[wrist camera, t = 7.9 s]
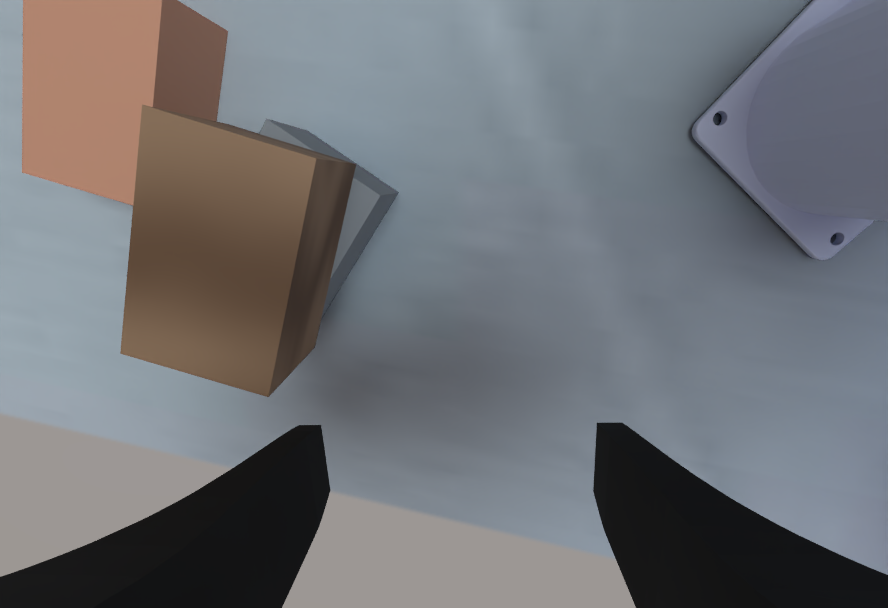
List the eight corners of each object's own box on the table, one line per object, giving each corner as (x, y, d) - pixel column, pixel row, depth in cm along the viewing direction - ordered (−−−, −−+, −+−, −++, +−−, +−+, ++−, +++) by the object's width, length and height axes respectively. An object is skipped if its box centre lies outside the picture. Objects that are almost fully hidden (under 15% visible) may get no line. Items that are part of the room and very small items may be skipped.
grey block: (309, 131, 18) (266, 118, 15) (399, 192, 19) (380, 195, 15) (238, 266, 20) (183, 286, 16) (321, 318, 21) (287, 350, 17)
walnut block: (228, 124, 15) (142, 104, 11) (356, 163, 15) (316, 158, 11) (201, 313, 17) (120, 353, 13) (314, 347, 17) (268, 397, 13)
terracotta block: (121, -1, 17) (23, -52, 14) (230, 32, 18) (162, -9, 14) (110, 173, 19) (21, 172, 16) (208, 203, 20) (143, 208, 16)
